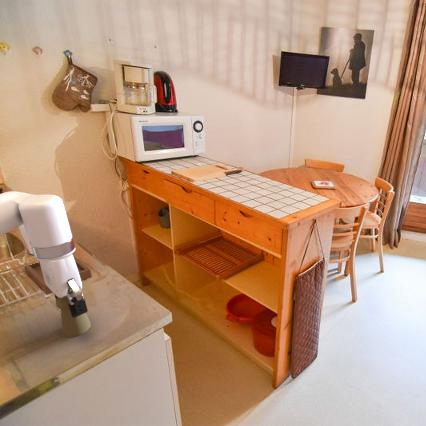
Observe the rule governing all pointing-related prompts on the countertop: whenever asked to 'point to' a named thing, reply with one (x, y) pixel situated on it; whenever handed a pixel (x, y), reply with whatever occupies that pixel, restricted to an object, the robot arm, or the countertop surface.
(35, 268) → the tray
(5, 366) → the countertop surface
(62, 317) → the cork
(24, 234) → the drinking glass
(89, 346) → the countertop surface
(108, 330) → the countertop surface
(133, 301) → the countertop surface
